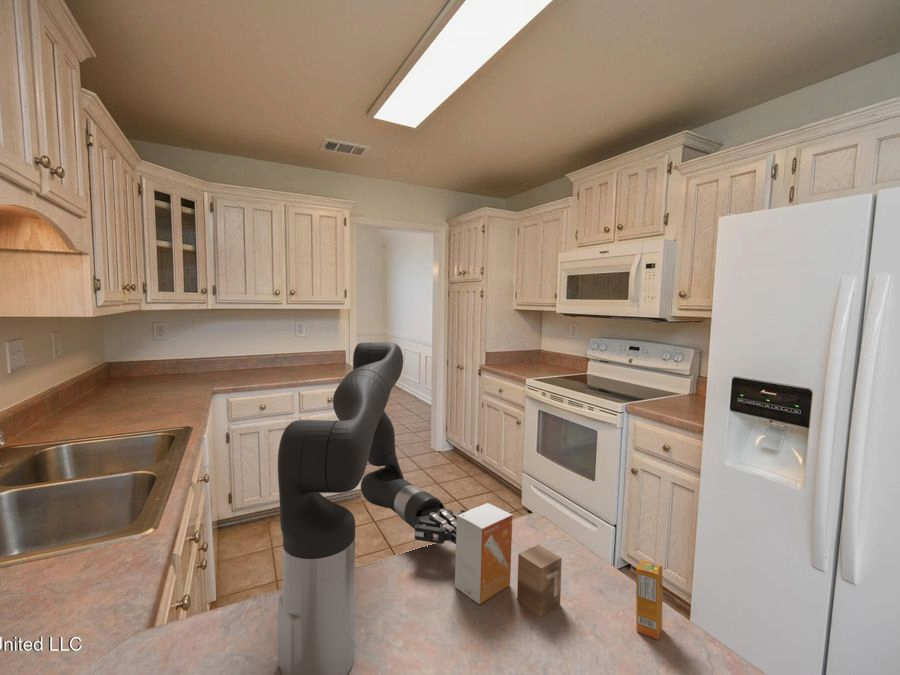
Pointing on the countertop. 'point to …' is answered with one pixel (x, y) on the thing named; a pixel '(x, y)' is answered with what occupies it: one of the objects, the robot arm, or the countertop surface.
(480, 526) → the small box
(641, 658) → the countertop surface
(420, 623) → the countertop surface
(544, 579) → the walnut digit block
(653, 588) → the supplement box
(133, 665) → the countertop surface
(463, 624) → the countertop surface
